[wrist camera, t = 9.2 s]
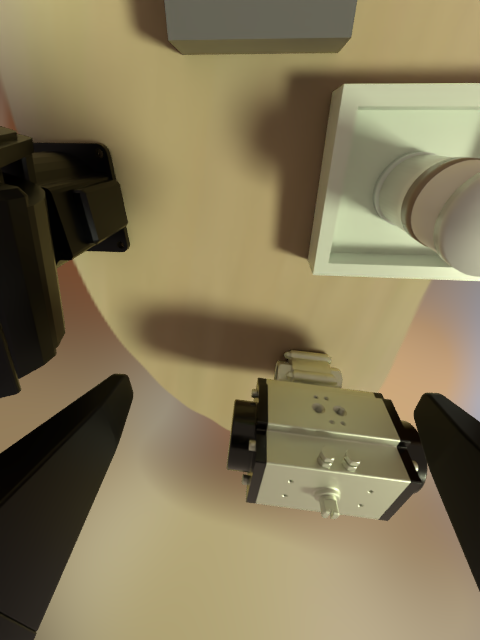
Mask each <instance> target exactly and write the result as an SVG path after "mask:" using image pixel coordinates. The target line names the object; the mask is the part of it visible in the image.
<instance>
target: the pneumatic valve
mask: <svg viewBox="0 0 480 640" xmlns="http://www.w3.org/2000/svg"><path fill="white" fill-rule="evenodd" d="M284 357H285V358H286V359H288V362H284V361H278V362H277V363H276V367H275V373H274V380H271V379H263V378H258V381H257V386H256V389H252V397H253V398H254V402H253V401H245V400H237V399H236V400H235V402H234V410H233V418H232V426H231V435H230V442H229V450H228V459H227V469H228V470H233V471H241V472H247V475H244V474H243V476H242V484H244V485H247V489H246V502H249V503H256V504H264V505H272V506H279V507H287V508H294V509H302V510H310V511H317V512H321V515H322V517H323V518H327V517H328V516H329V514H330V517H331V519H336V518H338V517H339V514H340V515H348V516H355V517H363V518H370V519H378V520H386V521H388V520H389V519H390V518H391V517H392V516H393V515H394V514H395V513H396V511H397V510H398V509H399V508H400V507H401V506H402V505H403V504H404V503H405V502H406V501H407V500H408V499H409V497H410V496H411V495H412V494H413V493H417V492H418V491H419V490H420V489H421V488H422V487H423V485H424V483H425V480H426V476H427V460H426V457H425V453H424V450H423V447H422V443H421V440H420V436H419V433H418V432H417V430H416V429H415V428H414V427H413V426H412V425H411V424H410V423H408V422H406V421H401V420H400V418H399V416H398V414H397V412H396V410H395V407H394V405H393V403H392V401H391V400H388V399H384V398H383V396H382V394H381V393H373V392H365V391H358V390H350V389H342V374H341V371H340V370H339V369H337V368H332V367H330V365H329V364H330V363H331V357H328V355H327V354H321V353H313V352H305V351H297V350H290V351H289V352H287V351H286V353H284Z"/></svg>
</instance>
